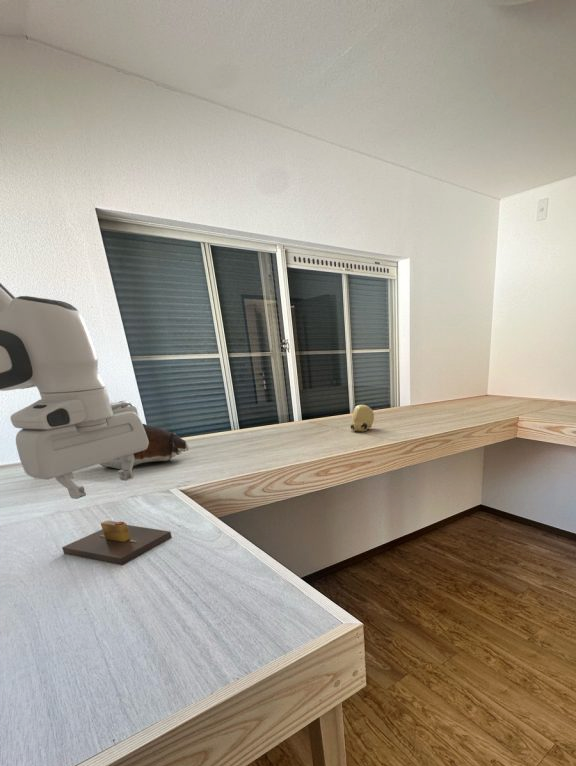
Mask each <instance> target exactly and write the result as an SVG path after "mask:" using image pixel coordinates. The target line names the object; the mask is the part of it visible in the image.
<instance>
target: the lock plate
mask: <svg viewBox="0 0 576 766" xmlns="http://www.w3.org/2000/svg"><path fill="white" fill-rule="evenodd" d="M126 525H127V529H128V532H129V536H130V539H129V540H127V541H125V542H121V541H115V540H110V539H105V536H104V533H103V530H102V529H100V530H97V531H95V532H92V533H90V534H89V535H86V536H83V537H81V538H80V539H77V540H75V541H73V542H70V543H69V544H67V545H64V546H62V547H61V549H62V552H63V554H64V555H67V556H72V557H77V558H83V559H88V560H92V561H97V562H104V563H109V564H113V565H119V566H124V565H126V564H128V563H130V562H132V561H133V560H135V559H137V558H138V557H140V556H142V555H144V554H146V553H148V552H150V551H152V550H153V549H155V548H156V547H158V546H160V545H162V544H164V543H165V542H167V541H169V540H171V539H173V537H172V532H171V531H169V530H163V529H156V528H149V527H144V526H139V525H131V524H126Z"/></svg>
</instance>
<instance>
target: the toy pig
mask: <svg viewBox="0 0 576 766" xmlns="http://www.w3.org/2000/svg"><path fill="white" fill-rule="evenodd" d="M351 415H352V416H351V424H350V429H351V430H352V431H354V432H359V433H361V432H366V431H367V430H368V429H370V428H372V427H373V423H374V420H375V414H374V411H373V409H372V408H371V407H369V406H368V405H365V404H357V405H355V407H354V409H353V411H352V414H351Z"/></svg>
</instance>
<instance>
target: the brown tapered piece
mask: <svg viewBox="0 0 576 766" xmlns="http://www.w3.org/2000/svg"><path fill="white" fill-rule="evenodd" d="M142 424H143V427H144V429H145V432H146V435H147V438H148V441H149V444H148V448H147V449H146V450H143V451H140V452H137V453H133V455H134V458H135V460H134V464H133V467H134V466H137V465H139V464H143V463H151V462H167V461H171V459H173V457H174V458H175V457H176V456H178V455H181V454H182V452H187V451H189V449H190V447H189V443H188V442H187V441H186V440H185V439H183V438H182V437H180V436H179V435H177V433H176V432H171V431H168V430H165V429H163V428H160V427H156V426H151V425H148V424H146V423H142ZM122 462H123V460H120V459H119V458H117V459H114V460H110V461H107V462H104V463H101V464H99V465H100V466H101V467H106V468H113V469H117V470H121V469H122Z"/></svg>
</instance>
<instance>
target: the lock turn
mask: <svg viewBox="0 0 576 766" xmlns="http://www.w3.org/2000/svg"><path fill="white" fill-rule="evenodd" d="M127 525H128V524H127V523H126V522H124V521H114V520H113V521H112V520H109V519H108V520H104V521H103V522H101V523H100V526H101V530H103V533H104V536H105V539H110V540H115V541H121V542H125V541H127V540H129V539H130V536H129V532H128V529H127Z"/></svg>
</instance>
